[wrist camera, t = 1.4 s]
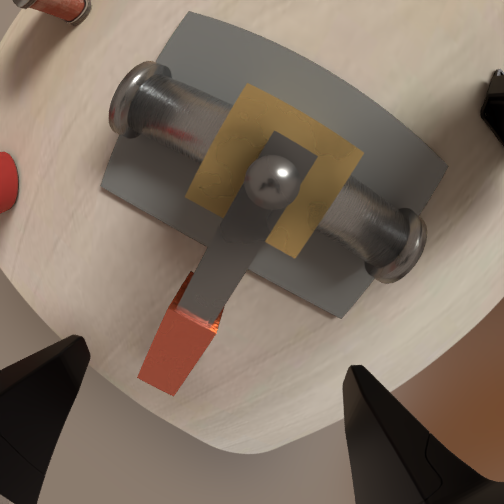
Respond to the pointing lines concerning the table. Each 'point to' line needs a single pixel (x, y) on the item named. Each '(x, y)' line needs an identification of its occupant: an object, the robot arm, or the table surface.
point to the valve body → (248, 150)
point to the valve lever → (225, 262)
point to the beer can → (7, 182)
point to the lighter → (60, 8)
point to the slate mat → (307, 101)
